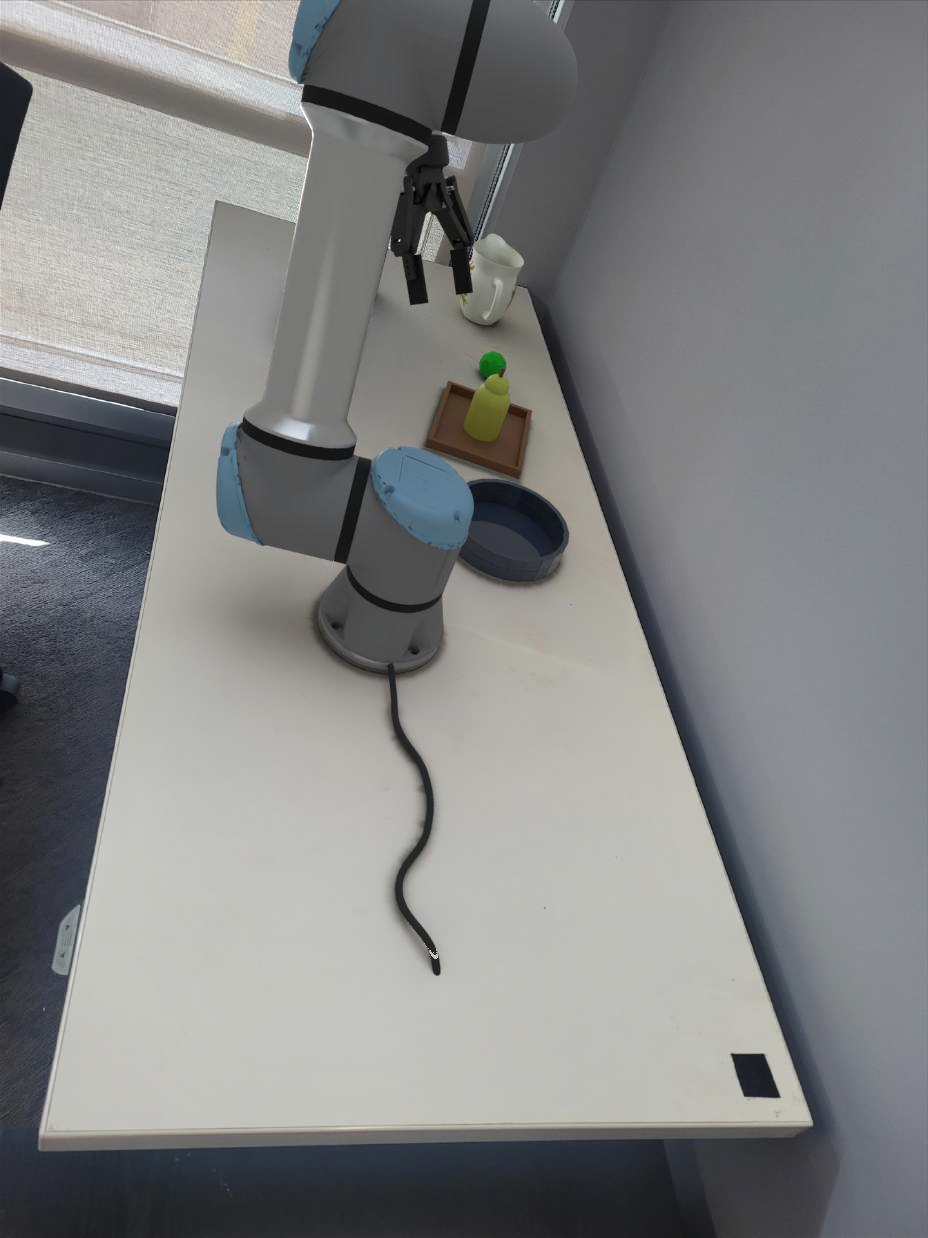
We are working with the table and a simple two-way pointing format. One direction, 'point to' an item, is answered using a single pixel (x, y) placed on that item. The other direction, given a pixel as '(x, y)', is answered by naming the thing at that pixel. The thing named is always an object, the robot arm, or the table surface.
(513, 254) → the pitcher
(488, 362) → the polyhedron
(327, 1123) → the table surface
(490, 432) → the pear
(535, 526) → the bowl
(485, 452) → the tray
